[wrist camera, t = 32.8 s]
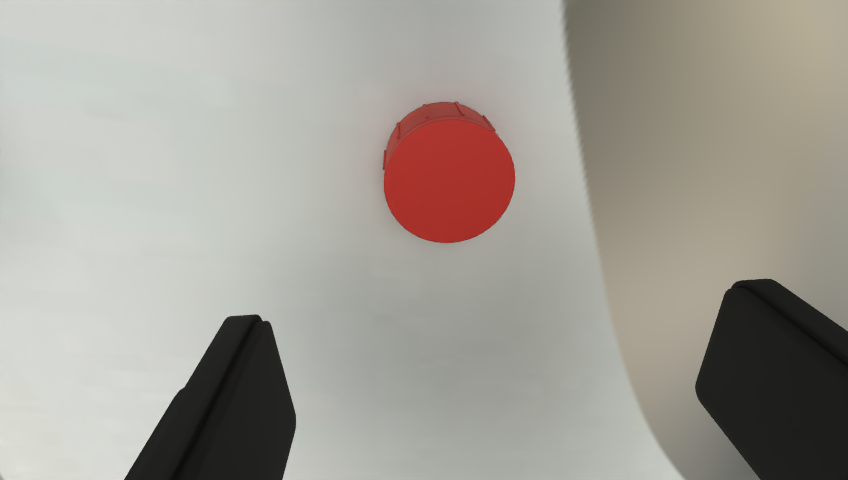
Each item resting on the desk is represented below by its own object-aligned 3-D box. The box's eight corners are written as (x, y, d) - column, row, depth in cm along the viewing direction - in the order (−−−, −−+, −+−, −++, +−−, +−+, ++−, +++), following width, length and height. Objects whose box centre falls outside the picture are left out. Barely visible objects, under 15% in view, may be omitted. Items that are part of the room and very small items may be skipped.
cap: (367, 185, 15) (363, 215, 13) (416, 80, 13) (419, 94, 11) (464, 226, 16) (474, 260, 14) (519, 133, 14) (541, 155, 12)
